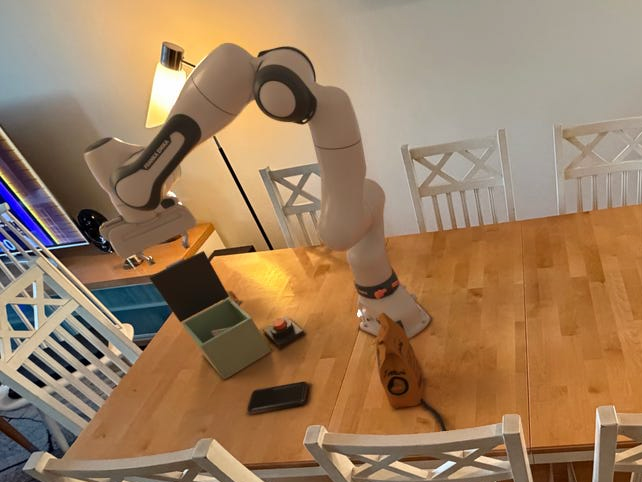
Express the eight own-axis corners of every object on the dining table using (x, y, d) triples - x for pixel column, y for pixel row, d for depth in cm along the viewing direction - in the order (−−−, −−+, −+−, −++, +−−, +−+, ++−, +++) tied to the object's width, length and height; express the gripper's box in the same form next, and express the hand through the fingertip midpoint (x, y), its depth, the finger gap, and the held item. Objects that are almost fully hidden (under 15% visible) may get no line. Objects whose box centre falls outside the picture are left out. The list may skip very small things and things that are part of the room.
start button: (288, 325, 151) (286, 321, 150) (278, 332, 150) (275, 327, 149) (283, 321, 154) (280, 316, 152) (272, 327, 152) (270, 322, 151)
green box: (271, 351, 149) (251, 317, 140) (224, 379, 142) (200, 346, 134) (248, 329, 158) (229, 297, 149) (204, 355, 152) (180, 323, 143)
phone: (303, 402, 130) (246, 411, 130) (304, 405, 131) (248, 414, 131) (307, 380, 136) (253, 389, 136) (309, 383, 136) (254, 392, 137)
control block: (304, 334, 152) (300, 326, 150) (281, 349, 149) (276, 340, 147) (288, 320, 159) (283, 311, 156) (265, 333, 155) (260, 325, 153)
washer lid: (204, 252, 136) (197, 244, 138) (149, 278, 129) (143, 270, 131) (229, 296, 149) (222, 289, 151) (180, 322, 142) (173, 314, 144)
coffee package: (385, 413, 125) (359, 348, 110) (388, 377, 134) (364, 313, 119) (425, 407, 125) (404, 341, 110) (425, 371, 134) (405, 306, 119)
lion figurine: (250, 319, 162) (237, 296, 156) (234, 326, 160) (220, 304, 154) (239, 298, 172) (226, 277, 165) (223, 305, 170) (210, 283, 164)
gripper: (98, 229, 118) (133, 278, 128) (182, 194, 127) (210, 242, 136) (91, 222, 122) (126, 270, 131) (174, 188, 130) (201, 235, 140)
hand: (170, 255), depth 134 cm, fingers open, 8 cm apart
